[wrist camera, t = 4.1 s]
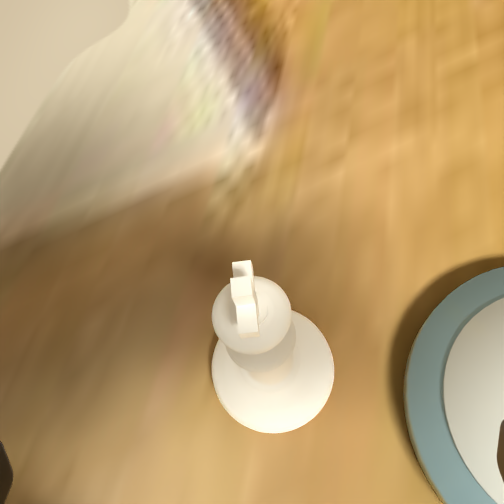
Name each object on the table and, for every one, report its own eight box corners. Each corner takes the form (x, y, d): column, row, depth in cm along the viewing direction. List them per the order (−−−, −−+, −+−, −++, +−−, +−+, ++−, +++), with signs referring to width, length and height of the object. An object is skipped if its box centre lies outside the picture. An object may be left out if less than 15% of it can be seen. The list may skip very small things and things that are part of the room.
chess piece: (216, 439, 18) (125, 423, 9) (209, 317, 20) (128, 201, 11) (344, 425, 18) (383, 393, 9) (323, 302, 20) (338, 171, 11)
